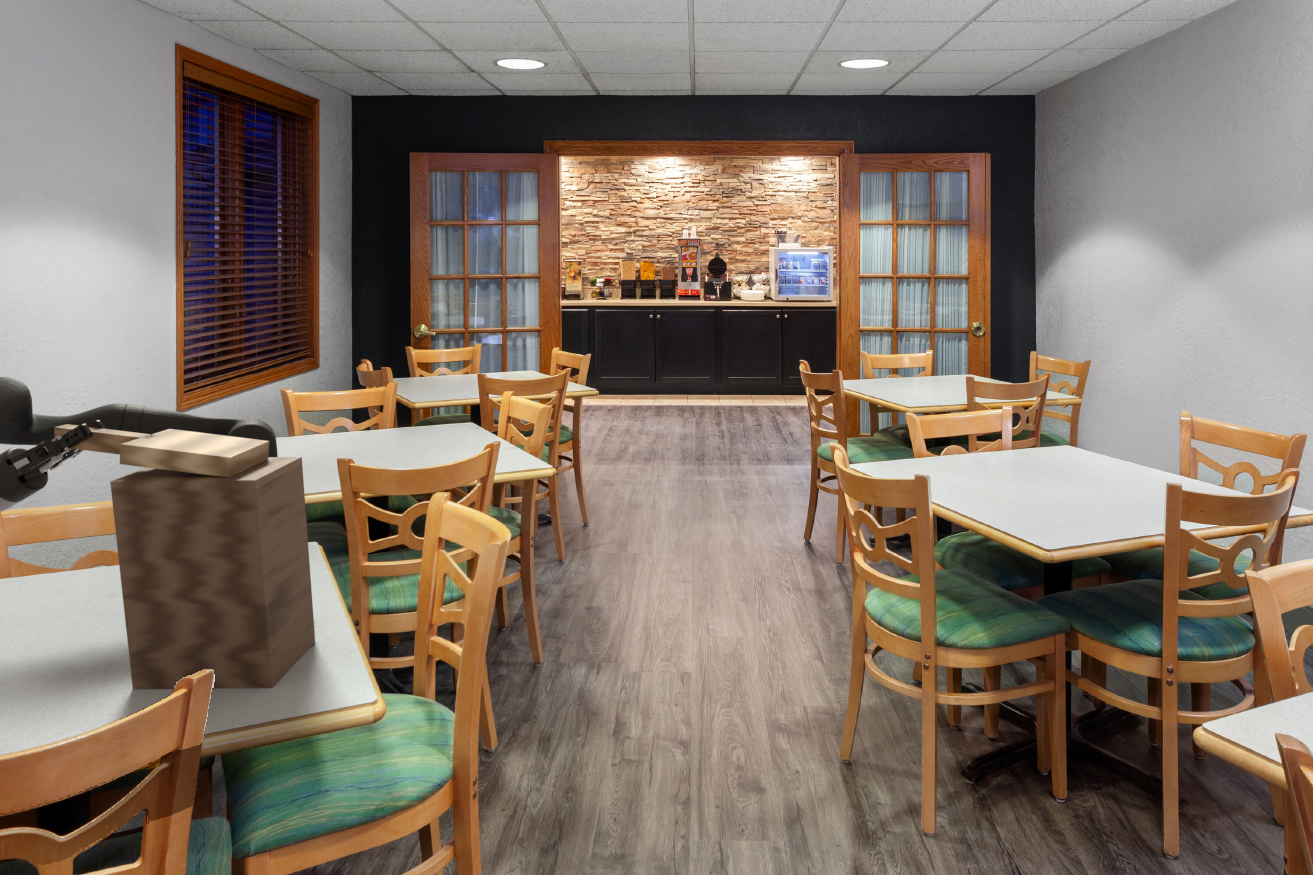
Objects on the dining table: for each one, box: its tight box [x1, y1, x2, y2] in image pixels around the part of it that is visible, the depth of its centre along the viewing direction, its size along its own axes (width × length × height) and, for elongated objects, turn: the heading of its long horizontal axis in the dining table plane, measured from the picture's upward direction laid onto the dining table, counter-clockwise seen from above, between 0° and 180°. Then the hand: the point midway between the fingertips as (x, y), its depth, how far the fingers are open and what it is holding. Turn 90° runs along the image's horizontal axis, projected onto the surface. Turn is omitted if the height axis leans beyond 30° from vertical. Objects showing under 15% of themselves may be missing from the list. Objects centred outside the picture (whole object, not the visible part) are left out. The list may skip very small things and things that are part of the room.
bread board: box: [54, 424, 269, 477], centre depth 142 cm, size 29×14×3 cm, turn 91°
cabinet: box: [110, 456, 316, 690], centre depth 145 cm, size 21×18×32 cm
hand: (95, 427), depth 141 cm, fingers closed on bread board, 3 cm apart
